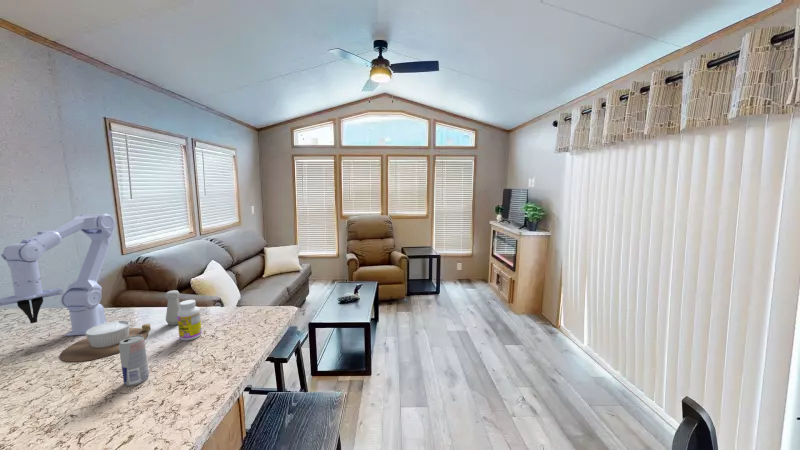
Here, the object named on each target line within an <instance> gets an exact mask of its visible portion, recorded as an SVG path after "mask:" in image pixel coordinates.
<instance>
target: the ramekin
mask: <svg viewBox="0 0 800 450" xmlns="http://www.w3.org/2000/svg"><path fill="white" fill-rule="evenodd" d="M106 322H107V323H103V324H100V325H97V326H94V327H92V328H90V329H89V330H87V331H86V334H85V337H86V338H88V340H89V342H90V345H91V346H92V347H95V348H104V347H109V346H113V345H116V344H119V342H120V341H121V340H122V339H124V338H127V337H128V336H129V328H131V321H129V320H113V321H112V320H111V321H106Z"/></svg>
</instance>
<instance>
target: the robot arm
mask: <svg viewBox="0 0 800 450" xmlns="http://www.w3.org/2000/svg"><path fill="white" fill-rule="evenodd" d="M116 224H117V223H116V221H115V219H114V217H113V216H112V215H111V214H109V213H98V214H95V213H94V214H92V213H91V214H89V213H83V214H79V215H76V216H74V217H73V219H71V220H69V221H68V222H66V223H64V224H62V225H61V226H59V227H57V228H55V229H53V230H49V229H45V230H43V229H41V230H39V231H37V234H35V235H33V236H30V237H28V238H25V237H24V238H22V239H21V242H17V243H16V242H15V243H11V244H8V245H7V246H6V247H5V248H4V249H3V251H2V253H1V254H0V256H1V258H2V259H3V260H4V261H6V263H7V266H8V267H9V270H10V275H11V280H12V287H13V291H14V292H13V293H14V295H12V296H6V297H2V298H0V307H2V306H6V305H11V304H17V307H18V308H19V309H20V310H21V311H23V313H24V314H25V315H26V316H27V318H28V319H29V322H30V324H34V323H38V316H39V312H40V309H41V307H42V305H43V303H44V298H49V297H54V296H60V297H61V298H60V304H61V305H62V306H63V307H64V308H65V307H66V310H67V311H68V312H69V319H70V325H71V331H70V332H67V333H66V334H65V337H70V336H82V335H84V336H85V335H86V331H87V330H89V329H90V328H92V327H94V326H97V325H100V324H103V323H107V322H108V321H107V319H106V314H105V308H104V306H103V304H101V303H100V302H101V300H102V291H103V290H102V289H103V287H102V286H101V285H100V284H99V283H98V280H99V278H100V274H101V271H102V268H103V266H104V263H105V261H106V257H107V254H108V252H109V249H110V246H111V243H112V240H113V233H114V229H115V227H116ZM79 231H81V232H82V233H83V234H85V235H86V237H88V238H89V239H90V240H91V242H90V245H89V247H88V251H87V253H86V256H85V258H84V262H83V264H82V266H81V269H80V271H79V273H78V274H79V275H78V277H77V280H75V281H74V282H73V283H71V284H69V285H68V287H67V288H66V290H65V292H64V290H63V287H59V288H51V289H44V290H43V286H42V279H41V273H40V267H39V261H38V260H39V259H41V257H43V254H44V253H45V252H47V251H49V250H51V249H52V248H54V247H56V246H58V245H60V244H61V243H62V239H64V238H66V237H68V236H70V235H73V234H75V233H77V232H79ZM30 301H31V303H30ZM31 307H32V308H31Z"/></svg>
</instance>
